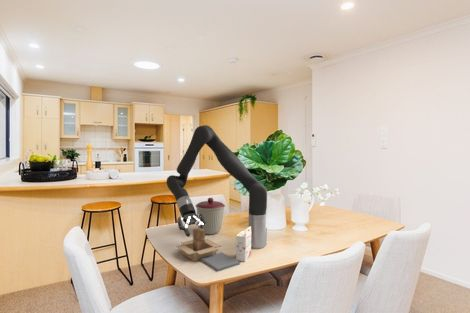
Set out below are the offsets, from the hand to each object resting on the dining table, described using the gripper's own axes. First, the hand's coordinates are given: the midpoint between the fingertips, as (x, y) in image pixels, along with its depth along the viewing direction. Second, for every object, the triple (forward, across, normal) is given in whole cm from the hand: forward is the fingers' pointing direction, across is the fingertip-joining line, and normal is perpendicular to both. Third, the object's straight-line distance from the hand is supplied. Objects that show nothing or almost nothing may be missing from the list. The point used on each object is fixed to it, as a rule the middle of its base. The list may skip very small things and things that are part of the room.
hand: (196, 234), depth 134 cm
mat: (+18, +3, -5) cm, 18 cm away
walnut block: (+8, 0, +5) cm, 9 cm away
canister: (-10, +23, +23) cm, 34 cm away
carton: (+8, 0, +5) cm, 9 cm away
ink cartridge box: (+19, +15, -6) cm, 25 cm away
